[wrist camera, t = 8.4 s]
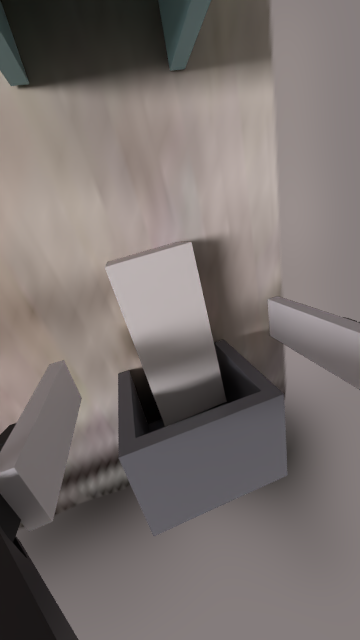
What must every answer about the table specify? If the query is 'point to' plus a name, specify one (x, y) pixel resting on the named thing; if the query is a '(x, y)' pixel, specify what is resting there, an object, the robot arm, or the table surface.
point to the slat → (169, 328)
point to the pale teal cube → (178, 26)
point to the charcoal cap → (203, 446)
